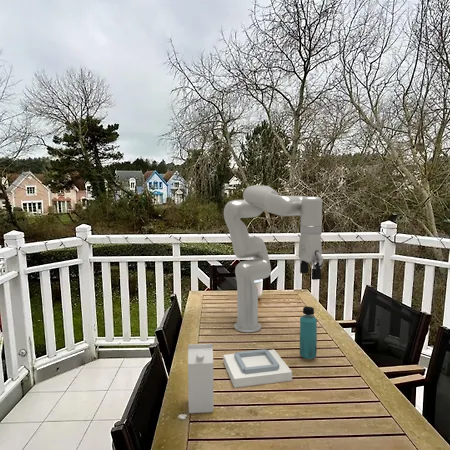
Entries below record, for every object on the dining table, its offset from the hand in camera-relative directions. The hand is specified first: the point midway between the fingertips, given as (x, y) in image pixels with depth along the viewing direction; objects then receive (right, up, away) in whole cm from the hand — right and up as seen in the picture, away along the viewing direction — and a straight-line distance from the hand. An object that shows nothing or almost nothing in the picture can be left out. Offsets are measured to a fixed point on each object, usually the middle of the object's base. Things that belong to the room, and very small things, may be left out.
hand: (309, 276), depth 129 cm
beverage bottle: (0, -32, +3) cm, 32 cm away
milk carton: (-39, -35, -26) cm, 58 cm away
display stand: (-21, -33, -6) cm, 39 cm away
